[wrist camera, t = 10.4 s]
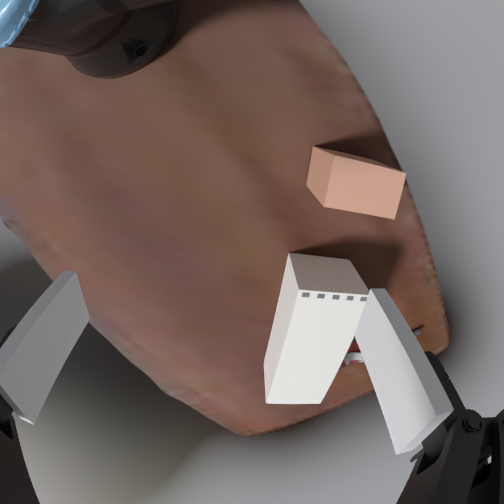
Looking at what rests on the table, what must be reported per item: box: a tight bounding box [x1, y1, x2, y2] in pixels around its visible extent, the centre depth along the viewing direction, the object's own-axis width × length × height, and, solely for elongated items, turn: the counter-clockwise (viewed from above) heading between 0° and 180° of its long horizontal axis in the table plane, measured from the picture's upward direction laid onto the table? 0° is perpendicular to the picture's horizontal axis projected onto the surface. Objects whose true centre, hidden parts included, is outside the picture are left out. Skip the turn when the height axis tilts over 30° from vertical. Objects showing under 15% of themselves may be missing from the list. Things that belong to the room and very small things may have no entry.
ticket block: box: [264, 253, 369, 404], centre depth 39 cm, size 22×9×9 cm, turn 173°
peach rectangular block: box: [306, 146, 406, 219], centre depth 29 cm, size 5×8×9 cm, turn 83°
